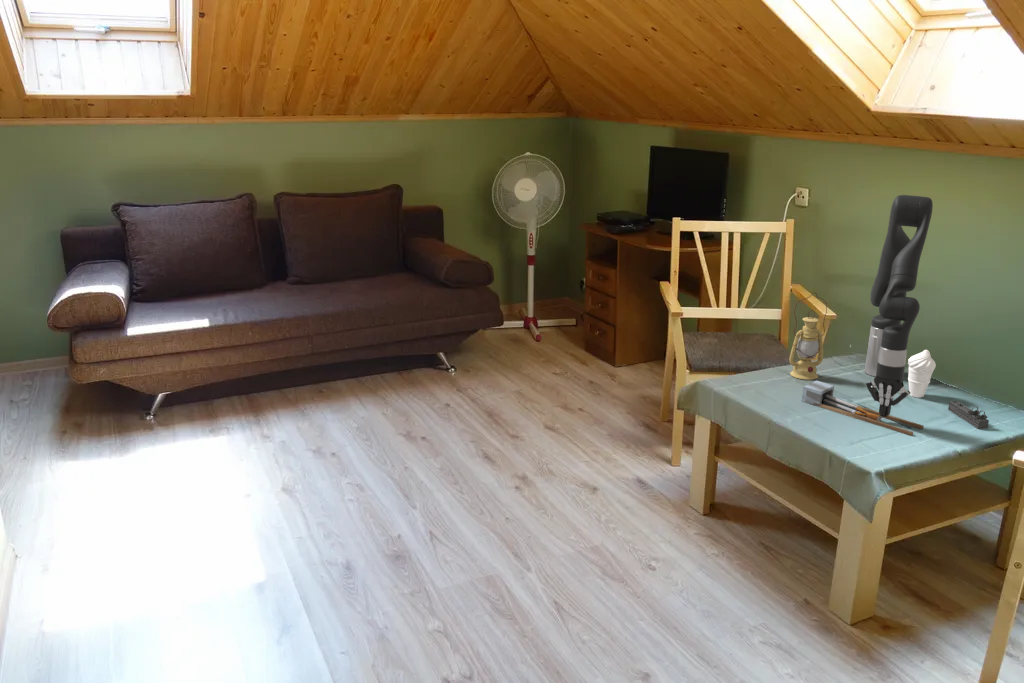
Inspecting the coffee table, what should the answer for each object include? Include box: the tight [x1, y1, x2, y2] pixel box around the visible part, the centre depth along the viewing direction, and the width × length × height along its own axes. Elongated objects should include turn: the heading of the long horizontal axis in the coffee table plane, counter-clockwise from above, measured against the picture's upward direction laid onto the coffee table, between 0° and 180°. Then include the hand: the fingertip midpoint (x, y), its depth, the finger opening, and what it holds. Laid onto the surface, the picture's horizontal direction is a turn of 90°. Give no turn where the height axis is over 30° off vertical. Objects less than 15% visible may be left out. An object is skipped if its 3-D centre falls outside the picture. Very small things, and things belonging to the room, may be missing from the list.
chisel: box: [822, 395, 882, 422], centre depth 256 cm, size 19×3×3 cm
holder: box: [801, 379, 925, 437], centre depth 253 cm, size 8×35×5 cm, turn 41°
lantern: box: [788, 292, 828, 381], centre depth 281 cm, size 12×10×30 cm
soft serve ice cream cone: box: [907, 349, 937, 399], centre depth 266 cm, size 8×8×16 cm
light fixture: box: [947, 400, 990, 430], centre depth 250 cm, size 3×15×6 cm, turn 5°
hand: (883, 415), depth 248 cm, fingers closed
